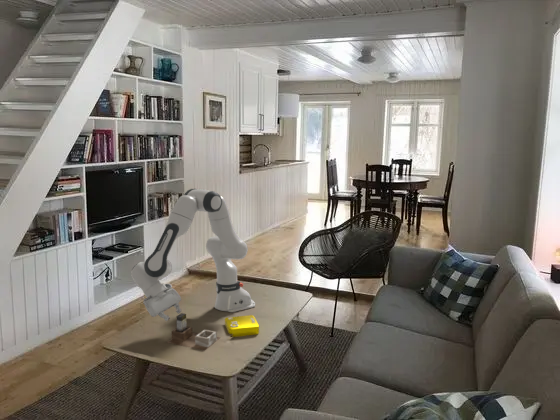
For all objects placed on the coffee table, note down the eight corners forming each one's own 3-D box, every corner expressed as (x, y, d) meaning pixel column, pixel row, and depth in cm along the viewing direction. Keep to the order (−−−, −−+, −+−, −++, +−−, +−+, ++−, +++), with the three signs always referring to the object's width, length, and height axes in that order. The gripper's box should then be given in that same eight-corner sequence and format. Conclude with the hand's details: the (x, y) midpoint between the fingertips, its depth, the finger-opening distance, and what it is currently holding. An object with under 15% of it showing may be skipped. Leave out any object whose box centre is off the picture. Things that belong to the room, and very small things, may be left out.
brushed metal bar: (182, 335, 219) (181, 313, 218) (186, 336, 218) (186, 313, 217) (177, 338, 216) (176, 316, 214) (181, 339, 215) (181, 317, 213)
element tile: (260, 334, 225) (260, 325, 224) (229, 338, 221) (228, 328, 220) (253, 322, 239) (253, 313, 238) (224, 325, 235) (224, 316, 234)
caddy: (184, 333, 225) (184, 322, 224) (220, 340, 218) (220, 329, 217) (166, 345, 212) (166, 334, 211) (204, 353, 205) (204, 341, 204)
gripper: (145, 296, 208) (164, 320, 206) (172, 282, 227) (190, 304, 225) (137, 304, 211) (156, 328, 209) (165, 290, 229) (182, 312, 227)
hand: (174, 316), depth 217 cm, fingers open, 8 cm apart
